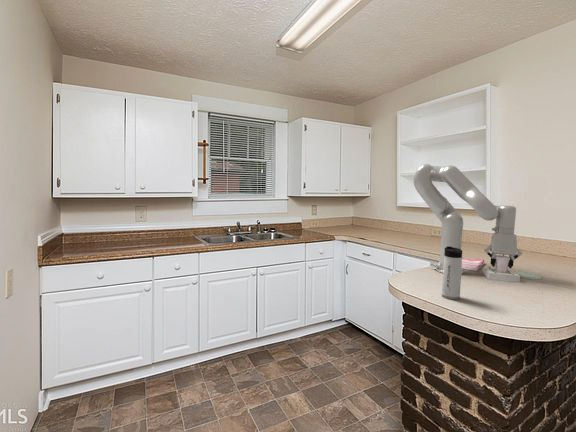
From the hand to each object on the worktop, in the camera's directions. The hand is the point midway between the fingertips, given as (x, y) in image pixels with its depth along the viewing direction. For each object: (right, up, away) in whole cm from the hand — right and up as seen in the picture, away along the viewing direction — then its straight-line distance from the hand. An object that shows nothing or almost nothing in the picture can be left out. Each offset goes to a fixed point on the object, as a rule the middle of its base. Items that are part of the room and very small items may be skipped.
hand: (501, 266), depth 147 cm
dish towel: (-3, -4, +26) cm, 26 cm away
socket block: (0, -6, 0) cm, 6 cm away
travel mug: (-40, -8, -27) cm, 49 cm away
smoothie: (0, -5, 0) cm, 5 cm away
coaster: (+16, -5, +3) cm, 17 cm away
